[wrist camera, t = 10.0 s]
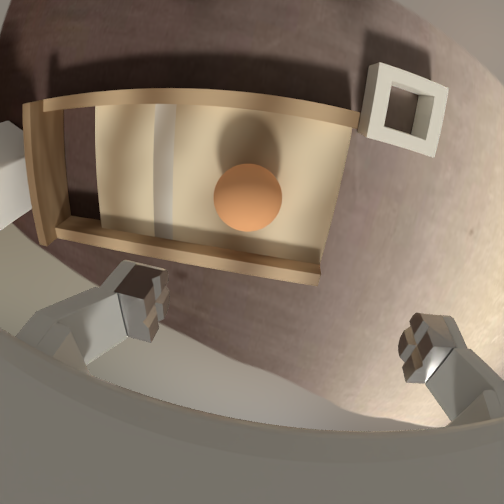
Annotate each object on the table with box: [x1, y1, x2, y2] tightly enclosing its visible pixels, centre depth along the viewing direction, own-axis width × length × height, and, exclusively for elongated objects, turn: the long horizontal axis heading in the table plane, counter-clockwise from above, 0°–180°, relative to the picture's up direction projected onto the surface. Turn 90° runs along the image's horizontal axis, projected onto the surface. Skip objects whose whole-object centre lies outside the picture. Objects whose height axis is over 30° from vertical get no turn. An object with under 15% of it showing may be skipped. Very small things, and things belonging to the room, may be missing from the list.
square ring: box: [358, 62, 449, 158], centre depth 15 cm, size 5×5×2 cm
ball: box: [213, 164, 282, 232], centre depth 17 cm, size 4×4×4 cm
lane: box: [23, 88, 360, 286], centre depth 18 cm, size 23×12×4 cm, turn 83°
